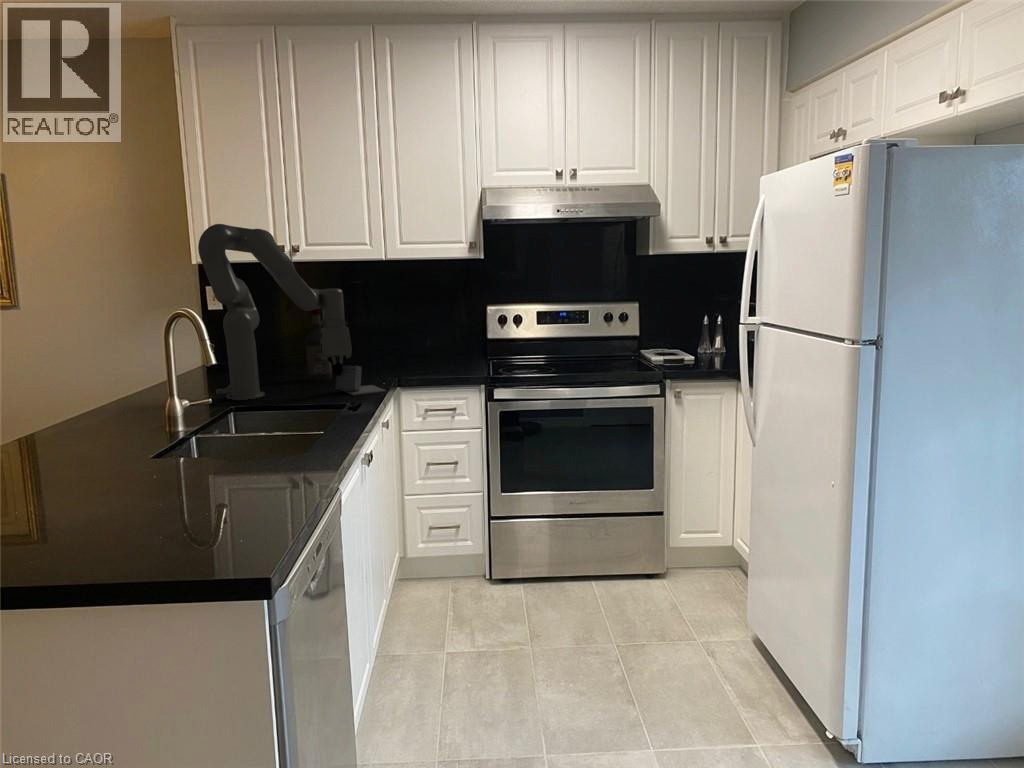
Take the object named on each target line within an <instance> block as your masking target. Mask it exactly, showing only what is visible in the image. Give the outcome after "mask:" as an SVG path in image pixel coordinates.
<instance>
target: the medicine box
mask: <svg viewBox="0 0 1024 768" xmlns="http://www.w3.org/2000/svg"><path fill="white" fill-rule="evenodd" d="M361 384H362V366H359V365H342V372H341V375H338V376H336V375H335V390H340V391H342V390H361V386H362V385H361Z"/></svg>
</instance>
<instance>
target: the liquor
mask: <svg viewBox="0 0 1024 768" xmlns="http://www.w3.org/2000/svg"><path fill="white" fill-rule="evenodd" d="M310 314H311V330H310V332H309V333H308V334H307V336H306V337H305V340H304V342H305V344H304V345H305V356H306V358H305V359H306V370H307V373H306V374H307V378H308V381H309V382H312V383H313V382H314V383H316V382H328V381H332V379H333V368H332V364H331V363H330V362H329V361H328V360H323V359H321V355H322V354H321V330H322V328H323V327H322V325H319V321H321V315H320V314H321V308H319V309H315V310H311V311H310ZM326 357H327V356H326Z"/></svg>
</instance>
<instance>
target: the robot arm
mask: <svg viewBox="0 0 1024 768" xmlns="http://www.w3.org/2000/svg"><path fill="white" fill-rule="evenodd" d="M197 246H198V247H197V249H198V256H199V259H200V262H201V263H202V266H203V269H204V271H205V272H204V273H205V275H206V278H207V279H208V282H209V284H210V287H211V290H212V292H213V295H214V297H215V299H216V301H217V302H218V303H220V304H222V305H224V306H225V307H226V309H227V312H225V314H224V316H223V320H222V326H223V333H224V336H225V342H226V343H225V344H226V354H227V362H228V363H227V364H228V374H229V375H228V376H229V384H228V386H225V387H224V388H217V389H216V391H215V392H216V395H226V399H227V400H229V399H232V400H231V401H249V400H248V399H250V400H257V399H261V398H263V396H264V397H265V396H266V393H265V392H264V391H261V389H260V379H259V366H258V365H259V364H258V351H257V344H256V338H255V333H254V331H255V330H256V329H258V327H259V324H260V315H259V312H258V309H257V307H256V304H255V302H254V299H253V296H252V294H251V291H250V289H249V287H248V285H247V284H246V283H245V281H244V280H242V279H241V278H238V277H236V275H235V273H234V270H233V267H232V265H231V262H230V261H229V257H227V254H226V251H233V252H234V251H235V252H242V253H248V254H252V256H253V257H254V258H255V260H257V261H258V262H259V263H260V265H262V267H263V268H264V269H265V271H267V272H268V273H269V275H270V276H271V277H272V278H273V279H274V281H275V282H276V283H277V285H278V286H279V287H280V288H281V290H282V291H283V292H284V293H285V294H286V296H287V297H288V298H289V299H290V300H291V301H292V302H293V303H294V304H295V305H296V306H297V307H298V308H299V309H301V310H302V311H305V312H311V310H315V309H319V308H320V309H321V313H322V320H320V321H319V325H321V328H322V330H321V354H322V355H321V359H323V360H328V361H329V362H330V363H331V364H332V374H333V375H334V376H335V377H336V376H338V375H341V372H342V366H343V365H342V364H343V362H345V360H346V359H349V358H351V357H352V351H353V350H352V349H353V347H352V342H351V336H350V331H349V330H350V329H349V327H348V326H346V320H345V319H346V318H345V304H344V302H345V301H344V293H343V292H344V291H343V290H342V289H341V288H335V287H334V288H324V289H323V288H322V289H321V288H320V289H319V288H311V287H310V285H308V284H307V283H306V281H305V280H304V279H303V278H302V277H301V276H300V275H299V273H298V272H297V270H296V268H295V264H294V262H293V261H292V259H291V258H290V257H289V255H287V254H286V253H285V252H284V250H283V249H282V248H281V247H280V246H279V245H278V244H277V242H276V241H275V238H274V236H273V235H272V233H270V231H268V230H265V229H261V228H246V227H241V226H240V227H239V226H233V225H229V224H228V225H227V224H224V223H215V224H213V225H210V226H208V227H207V228H206V229H204V231H203V232H202V234H201V236H200V237H199V241H198V245H197ZM326 356H327V357H326ZM336 357H337V359H336ZM260 397H261V398H260ZM256 398H257V399H256Z"/></svg>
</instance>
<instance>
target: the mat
mask: <svg viewBox="0 0 1024 768" xmlns="http://www.w3.org/2000/svg"><path fill="white" fill-rule="evenodd" d="M341 392H344V393H346V392H347V393H346V394H349V395H351V396H360V395H369V394H370V395H371V394H377V393H378V394H379V393H385V392H386V393H387V390H386V389H384V388H381V387H380V386H379V387H378V386H376V385H374V384H369V385H361V390H341Z"/></svg>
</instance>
